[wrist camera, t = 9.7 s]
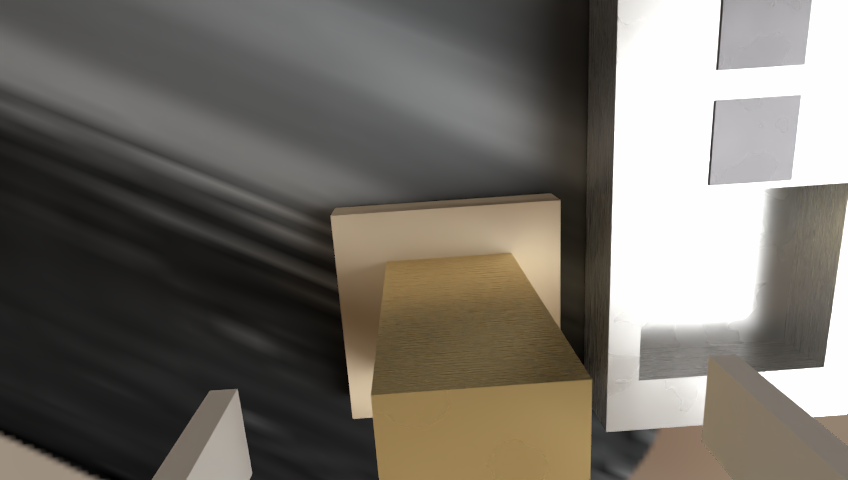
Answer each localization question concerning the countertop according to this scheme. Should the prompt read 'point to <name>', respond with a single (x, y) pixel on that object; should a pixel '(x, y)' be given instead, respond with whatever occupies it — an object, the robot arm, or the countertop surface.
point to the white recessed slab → (715, 203)
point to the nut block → (475, 377)
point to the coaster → (433, 238)
